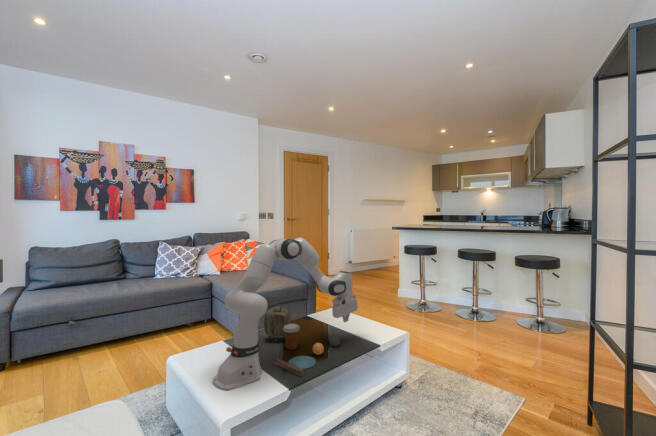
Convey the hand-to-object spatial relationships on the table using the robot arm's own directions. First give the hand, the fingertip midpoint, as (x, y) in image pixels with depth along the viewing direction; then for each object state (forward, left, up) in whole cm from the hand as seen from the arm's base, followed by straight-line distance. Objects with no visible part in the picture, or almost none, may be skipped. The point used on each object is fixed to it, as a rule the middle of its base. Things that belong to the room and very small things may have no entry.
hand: (345, 321), depth 187 cm
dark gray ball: (-10, 0, -8) cm, 13 cm away
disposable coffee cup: (-27, +18, -12) cm, 35 cm away
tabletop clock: (-26, +32, -12) cm, 43 cm away
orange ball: (-24, 0, -8) cm, 26 cm away
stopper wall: (-46, 0, -11) cm, 47 cm away
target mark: (-36, 0, -11) cm, 38 cm away
